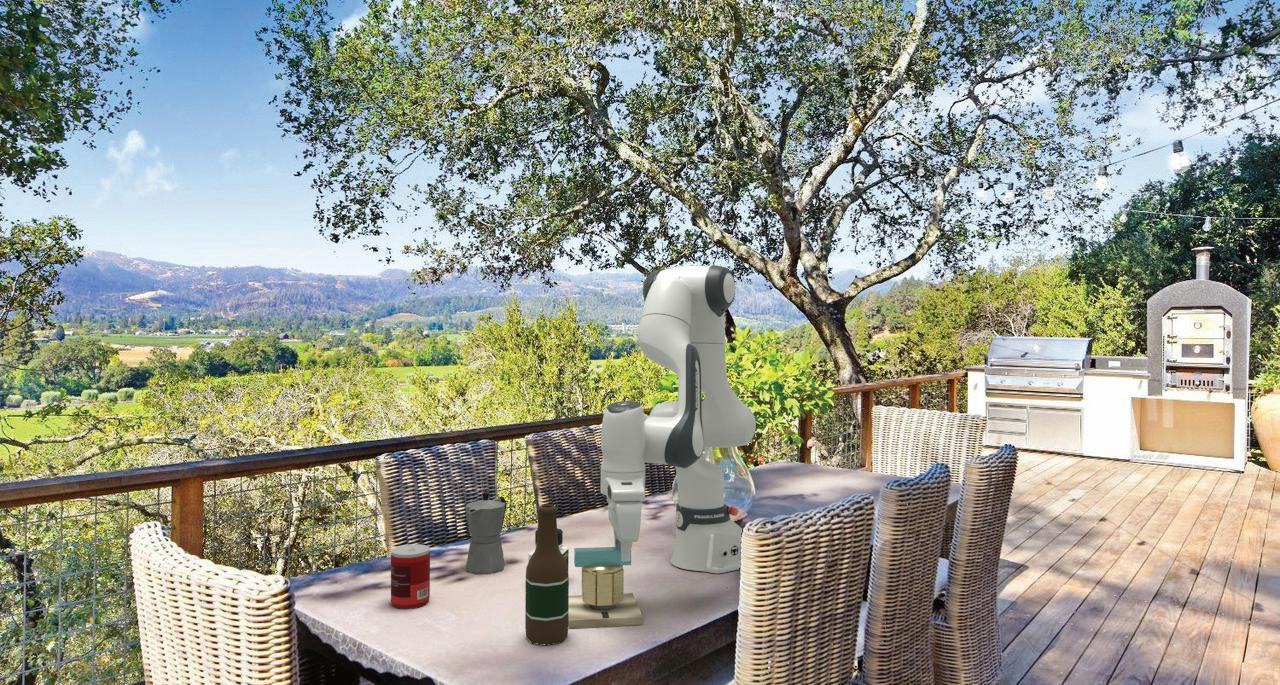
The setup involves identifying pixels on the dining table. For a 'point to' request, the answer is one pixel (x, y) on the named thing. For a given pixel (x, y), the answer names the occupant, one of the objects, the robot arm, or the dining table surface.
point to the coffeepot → (485, 535)
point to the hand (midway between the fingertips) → (622, 554)
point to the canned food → (410, 576)
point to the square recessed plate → (604, 613)
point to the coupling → (601, 574)
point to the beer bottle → (547, 584)
